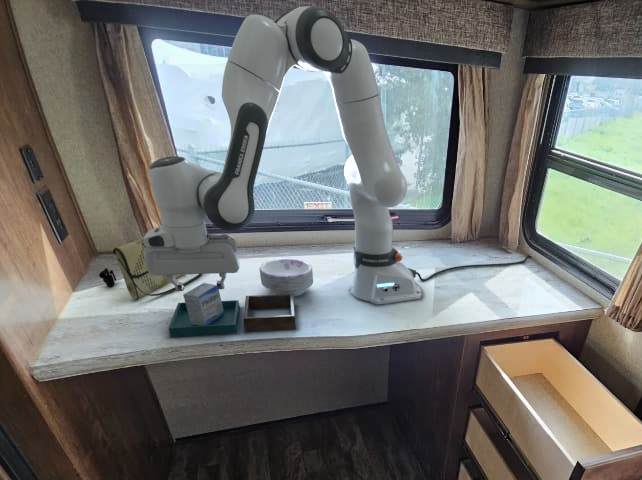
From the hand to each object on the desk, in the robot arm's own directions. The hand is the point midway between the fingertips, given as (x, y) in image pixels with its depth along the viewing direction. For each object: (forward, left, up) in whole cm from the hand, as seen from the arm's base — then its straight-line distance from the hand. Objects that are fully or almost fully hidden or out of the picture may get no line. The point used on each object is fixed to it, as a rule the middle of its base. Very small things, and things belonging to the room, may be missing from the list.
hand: (201, 289), depth 109 cm
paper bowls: (-21, -17, -10) cm, 29 cm away
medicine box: (0, 0, -9) cm, 9 cm away
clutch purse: (+12, -25, -10) cm, 30 cm away
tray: (0, 0, -9) cm, 9 cm away
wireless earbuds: (+29, -25, -10) cm, 40 cm away
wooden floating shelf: (-16, 0, -9) cm, 18 cm away
